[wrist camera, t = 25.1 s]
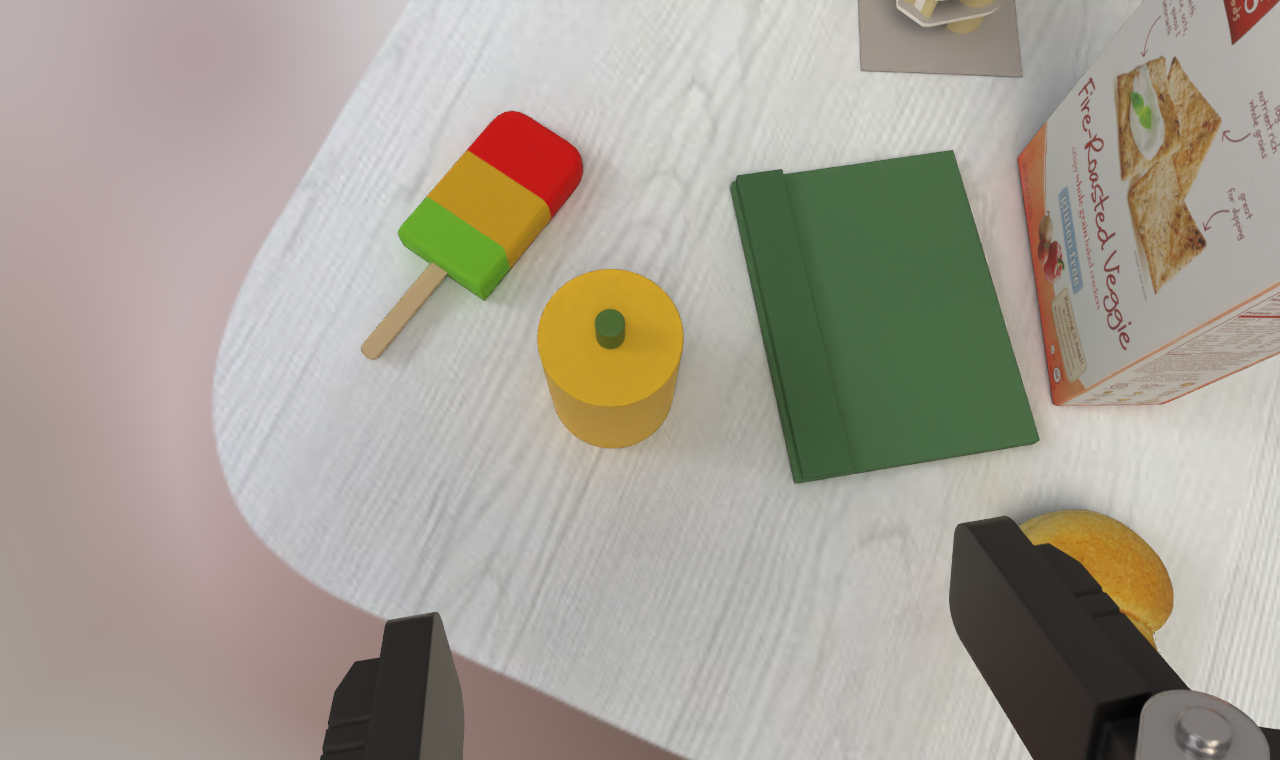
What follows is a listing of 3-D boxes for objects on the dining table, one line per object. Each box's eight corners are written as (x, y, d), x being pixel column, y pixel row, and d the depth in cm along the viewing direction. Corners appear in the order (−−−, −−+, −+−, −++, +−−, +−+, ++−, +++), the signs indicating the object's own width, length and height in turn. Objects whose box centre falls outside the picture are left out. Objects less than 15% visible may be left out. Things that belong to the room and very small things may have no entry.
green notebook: (794, 484, 43) (799, 479, 42) (729, 188, 48) (733, 175, 46) (1033, 444, 44) (1046, 437, 43) (948, 157, 49) (957, 143, 47)
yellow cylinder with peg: (560, 457, 44) (544, 407, 34) (544, 341, 45) (524, 263, 36) (683, 438, 44) (698, 383, 35) (662, 323, 46) (671, 242, 36)
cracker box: (1006, 159, 49) (1273, -183, 29) (1117, 158, 49) (1460, -182, 29) (1042, 411, 45) (1383, 220, 25) (1163, 410, 45) (1600, 218, 25)
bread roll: (1166, 550, 43) (1220, 541, 39) (1123, 738, 40) (1176, 747, 37) (999, 485, 44) (1035, 469, 40) (946, 665, 41) (980, 668, 37)
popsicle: (593, 171, 48) (592, 152, 46) (414, 393, 44) (405, 382, 43) (511, 118, 49) (506, 98, 47) (329, 332, 45) (316, 318, 43)
